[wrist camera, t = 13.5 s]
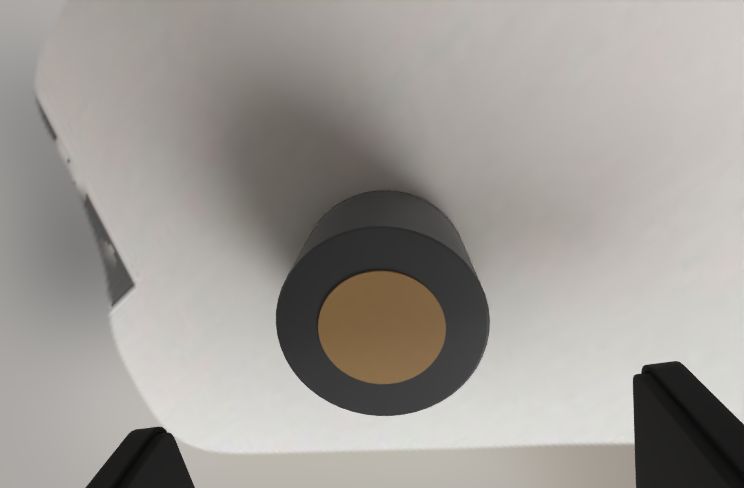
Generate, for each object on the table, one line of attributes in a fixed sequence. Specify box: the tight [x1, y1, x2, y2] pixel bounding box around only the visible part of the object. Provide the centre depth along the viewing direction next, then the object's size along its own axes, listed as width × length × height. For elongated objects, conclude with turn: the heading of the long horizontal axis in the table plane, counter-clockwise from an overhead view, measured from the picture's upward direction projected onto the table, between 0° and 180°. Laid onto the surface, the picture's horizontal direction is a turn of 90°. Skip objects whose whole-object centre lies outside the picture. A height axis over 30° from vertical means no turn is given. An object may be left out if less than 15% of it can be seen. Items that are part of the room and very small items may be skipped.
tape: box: [276, 191, 490, 416], centre depth 16 cm, size 6×6×5 cm
